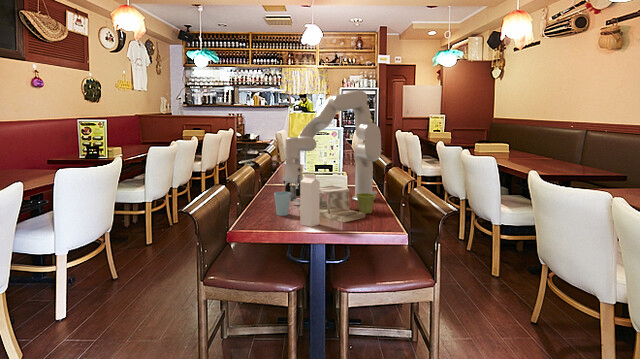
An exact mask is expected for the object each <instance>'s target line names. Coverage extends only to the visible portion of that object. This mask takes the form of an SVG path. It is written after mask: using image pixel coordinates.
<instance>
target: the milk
mask: <svg viewBox="0 0 640 359" xmlns="http://www.w3.org/2000/svg"><path fill="white" fill-rule="evenodd" d="M320 183H321V182H320V181H319V180H318V179H317V176H316V174H311V173H304V176H303V179H302V181H301V182H300V196H299V198H300V203H299V204H300V205H299V206H300V211H299V212H300V213H299V214H300V215H299V222H300V223H299V225H300V226H304V227H310V228H312V227H316V226H319V225H320V216H319V202H320V196H321V195H320V194H321V193H320V187H321V186H320V185H321V184H320Z"/></svg>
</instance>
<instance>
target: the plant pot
mask: <svg viewBox="0 0 640 359" xmlns="http://www.w3.org/2000/svg"><path fill="white" fill-rule="evenodd" d="M376 195H377V194H375V195H374V194H369V193H360V194H356V196H357V199H358V201H357V205H358V212H362V213H365V215H366V214H371V213H372V212H373V206H374V201H375V200H374V198H375V199H376Z"/></svg>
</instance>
